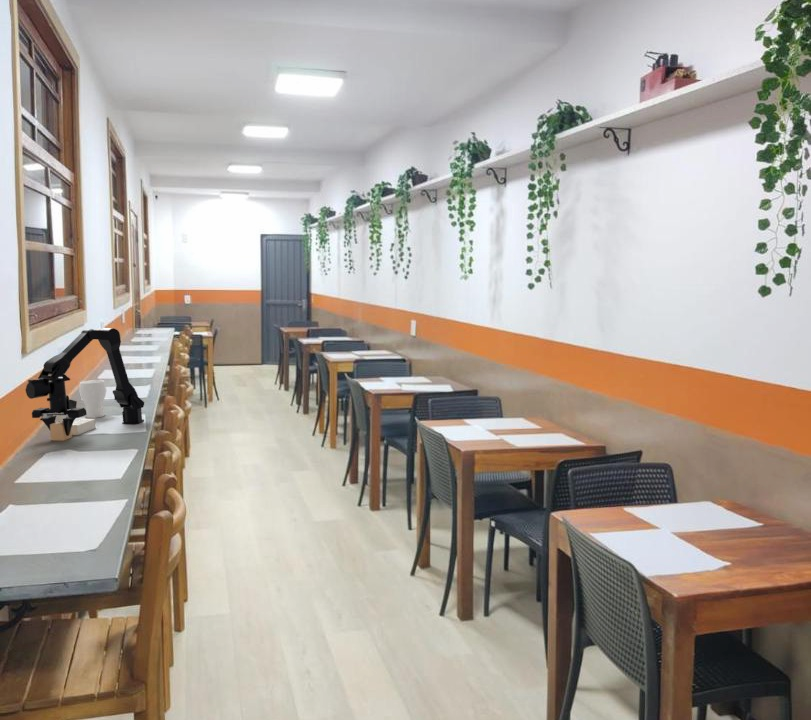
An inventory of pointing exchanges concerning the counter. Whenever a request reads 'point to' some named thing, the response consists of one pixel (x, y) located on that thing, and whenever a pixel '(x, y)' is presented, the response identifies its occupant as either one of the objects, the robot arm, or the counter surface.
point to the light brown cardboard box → (58, 431)
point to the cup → (93, 397)
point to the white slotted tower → (82, 426)
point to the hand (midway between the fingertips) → (61, 435)
